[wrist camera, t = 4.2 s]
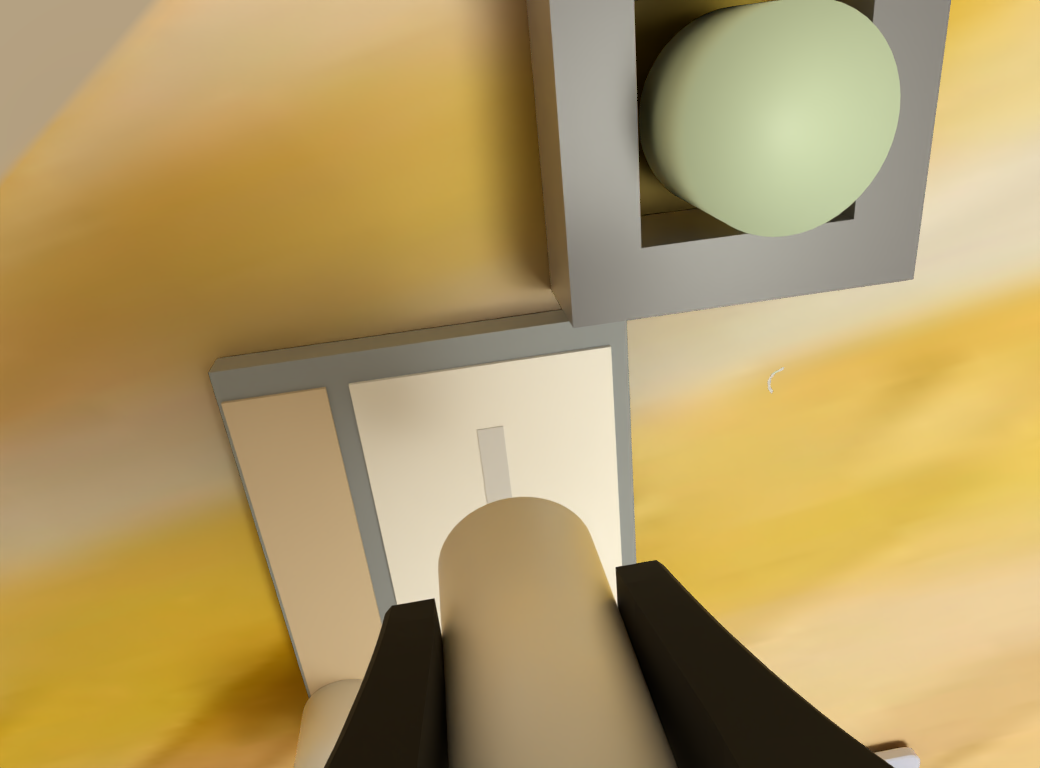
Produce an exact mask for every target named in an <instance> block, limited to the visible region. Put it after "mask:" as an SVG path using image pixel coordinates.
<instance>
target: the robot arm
mask: <svg viewBox="0 0 1040 768" xmlns="http://www.w3.org/2000/svg"><path fill="white" fill-rule="evenodd" d="M615 568H616V587H617V605H618V609H619V612H620V614H621V617H622V620H623V622H624V625H625V628H626V630H627V633H628V636H629V638H630V641H631V644H632V647H633V649H634V652H635V655H636V657H637V660H638V663H639V665H640V668H641V671H642V673H643V676H644V679H645V681H646V684H647V687H648V690H649V692H650V695H651V698H652V700H653V703H654V706H655V708H656V711H657V714H658V716H659V719H660V722H661V724H662V727H663V730H664V732H665V735H666V738H667V741H668V743H669V746H670V749H671V751H672V754H673V757H674V759H675V762H676V765H677V767H678V768H919V766H920V759H919V757H918V756H917V754H916V753H915V752H914V750H913V749H912V748H908V747H901V748H895V749H890V750H885V751H880V752H875V753H874V752H872V751H871V750H869V749H868V748H867V747H865V746H864V745H863V744H861V743H860V742H858V741H857V740H856V739H854V738H853V737H852V736H850V735H849V734H848V733H846V732H845V731H844V730H843V729H841V728H840V727H839V726H837V725H836V724H835V723H834V722H832V721H831V720H830V719H828V718H827V717H826V716H825V715H823V714H822V713H821V712H820V711H818V710H817V709H816V708H815V707H813V706H812V705H811V704H810V703H809V702H807V701H806V700H805V699H804V698H803V697H801V696H800V695H799V694H798V693H796V692H795V691H794V690H793V689H792V688H790V687H789V686H788V685H787V684H786V683H785V682H783V681H782V680H781V679H780V678H779V677H778V676H777V675H775V674H774V673H773V672H772V671H771V670H770V669H768V668H767V667H766V666H765V665H764V664H763V663H762V662H761V661H760V660H759V659H757V658H756V657H755V656H754V655H753V654H752V653H751V652H750V651H749V650H748V649H747V648H745V647H744V646H743V645H742V644H741V643H740V642H739V641H738V640H737V639H736V638H735V637H733V636H732V635H731V634H730V633H729V632H728V631H727V630H726V629H725V628H724V627H723V626H722V625H721V624H720V623H719V622H718V621H717V620H716V619H715V618H714V617H713V616H712V615H711V614H710V613H709V612H708V611H707V610H706V609H705V608H704V607H703V606H702V605H701V604H700V603H699V602H698V601H697V600H696V599H695V598H694V597H693V596H692V595H691V594H690V593H689V592H688V591H687V590H686V589H685V588H684V587H683V586H682V585H681V583H680V582H679V581H678V580H677V579H676V578H675V577H674V576H673V575H672V574H671V573H670V572H669V571H668V570H667V568H666V567H665V566H664V565H662V564H661V563H660V562H658V561H657V560H654V561H648V562H642V563H637V564H631V565H625V566H619V567H615ZM324 768H449V759H448V741H447V723H446V703H445V679H444V661H443V643H442V634H441V629H440V624H439V619H438V613H437V608H436V603H435V598H433V599H427V600H421V601H416V602H410V603H404V604H398V605H392V606H391V607H390V608H389V609H388V611H387V612H386V613H385V616H384V620H383V623H382V627H381V630H380V633H379V637H378V640H377V643H376V646H375V649H374V652H373V654H372V657H371V660H370V663H369V665H368V668H367V671H366V673H365V676H364V678H363V681H362V684H361V686H360V689H359V691H358V693H357V696H356V698H355V700H354V703H353V705H352V707H351V710H350V712H349V714H348V717H347V719H346V721H345V724H344V726H343V728H342V731H341V733H340V735H339V737H338V740H337V742H336V744H335V746H334V748H333V750H332V752H331V754H330V756H329V758H328V760H327V762H326V764H325V766H324Z"/></svg>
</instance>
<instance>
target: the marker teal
mask: <svg viewBox="0 0 1040 768" xmlns="http://www.w3.org/2000/svg"><path fill="white" fill-rule="evenodd" d="M438 578H439V596H440V614H441V632H442V643H443V661H444V679H445V703H446V723H447V741H448V759H449V768H678V767H677V765H676V762H675V759H674V757H673V754H672V751H671V749H670V746H669V743H668V741H667V738H666V735H665V732H664V730H663V727H662V724H661V722H660V719H659V716H658V714H657V711H656V708H655V706H654V703H653V700H652V698H651V695H650V692H649V690H648V687H647V684H646V681H645V679H644V676H643V673H642V671H641V668H640V665H639V663H638V660H637V657H636V655H635V652H634V649H633V647H632V644H631V641H630V638H629V636H628V633H627V630H626V628H625V625H624V622H623V620H622V617H621V614H620V612H619V609H618V606H617V604H616V601H615V598H614V595H613V593H612V590H611V587H610V585H609V582H608V579H607V577H606V574H605V571H604V569H603V566H602V563H601V561H600V558H599V555H598V553H597V550H596V547H595V544H594V542H593V539H592V536H591V534H590V532H589V530H588V528H587V526H586V525H585V524H584V522H583V521H582V520H581V519H580V518H579V517H578V516H577V515H576V514H575V513H574V512H572V511H571V510H570V509H568V508H566V507H565V506H563V505H561V504H559V503H556V502H553V501H551V500H547V499H543V498H536V497H513V498H506V499H502V500H498V501H495V502H492V503H489V504H486V505H484V506H482V507H480V508H478V509H476V510H475V511H473V512H471V513H470V514H468V515H467V516H466V517H465V518H463V519H462V520H461V521H460V522H459V523H458V524H457V525H456V526H455V527H454V528H453V529H452V531H451V532H450V533H449V535H448V536H447V538H446V540H445V542H444V544H443V546H442V549H441V551H440V556H439V560H438Z"/></svg>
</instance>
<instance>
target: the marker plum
mask: <svg viewBox="0 0 1040 768" xmlns="http://www.w3.org/2000/svg"><path fill="white" fill-rule="evenodd" d="M362 681H363V679H347V680H341V681H336V682H333V683H330V684H328V685H326V686H324V687H322V688H320V689H319V690H318V691H316V692H315V693H314V694H313V695H312V696H311V697H310V698H309V699H308V701H307V702H306V704H305V706H304V709H303V715H302V721H301V727H300V733H299V739H298V745H297V751H296V758H295V764H294V768H324V766H325V764H326V762H327V760H328V758H329V756H330V754H331V752H332V750H333V748H334V746H335V744H336V742H337V740H338V737H339V735H340V733H341V731H342V728H343V726H344V724H345V721H346V719H347V717H348V714H349V712H350V710H351V707H352V705H353V703H354V700H355V698H356V696H357V693H358V691H359V689H360V686H361V684H362Z"/></svg>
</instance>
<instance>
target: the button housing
mask: <svg viewBox="0 0 1040 768" xmlns="http://www.w3.org/2000/svg"><path fill="white" fill-rule="evenodd" d="M634 1H636V0H526V2H527V14H528V25H529V37H530V49H531V61H532V72H533V84H534V96H535V108H536V119H537V131H538V143H539V155H540V166H541V178H542V190H543V202H544V213H545V225H546V237H547V249H548V260H549V272H550V284H551V291H552V293H553V294H554V296H555V298H556V299H557V301H558V303H559V305H560V306H561V308H562V310H563V311H564V313H565V315H566V317H567V318H568V320H569V322H570V323H571V325H572V327H573V328H578V327H585V326H592V325H599V324H606V323H613V322H620V321H627V320H634V319H641V318H648V317H655V316H662V315H669V314H676V313H683V312H690V311H697V310H704V309H711V308H718V307H724V306H731V305H738V304H745V303H752V302H759V301H766V300H773V299H780V298H787V297H794V296H801V295H808V294H815V293H822V292H829V291H836V290H843V289H850V288H857V287H864V286H871V285H878V284H885V283H892V282H899V281H906V280H913V278H914V271H915V263H916V256H917V249H918V241H919V234H920V226H921V219H922V212H923V204H924V197H925V189H926V182H927V175H928V167H929V160H930V152H931V145H932V137H933V130H934V123H935V115H936V108H937V100H938V93H939V86H940V78H941V71H942V63H943V56H944V49H945V41H946V34H947V26H948V19H949V12H950V4H951V0H835V1H839V2H842V3H845V4H847V5H849V6H851V7H853V8H855V9H856V10H858V11H859V12H861V13H862V14H863V15H865V16H866V17H867V18H868V19H869V20H870V21H871V22H872V23H873V24H874V25H875V26H876V27H877V28H878V29H879V31H880V32H881V33H882V35H883V36H884V38H885V39H886V41H887V43H888V45H889V47H890V49H891V51H892V53H893V56H894V59H895V62H896V65H897V70H898V75H899V80H900V95H901V96H900V112H899V118H898V124H897V129H896V132H895V135H894V139H893V142H892V145H891V147H890V150H889V152H888V155H887V157H886V159H885V161H884V163H883V164H882V166H881V168H880V170H879V172H878V173H877V175H876V176H875V178H874V179H873V181H872V182H871V184H870V185H869V186H868V187H867V188H866V190H865V191H864V192H863V193H862V194H861V196H860V197H858V198H857V199H856V200H855V201H854V202H853V203H852V204H851V205H850V206H849V207H848V208H847V209H845V210H844V211H843V212H842V213H840V214H839V215H838V216H836V217H834V218H833V219H831V220H830V221H828V222H826V223H824V224H822V225H820V226H818V227H816V228H814V229H811V230H808V231H805V232H802V233H799V234H794V235H789V236H781V237H766V236H757V235H753V234H748V233H745V232H743V231H740V230H737V229H735V228H733V227H731V226H730V225H728V224H726V223H724V222H722V221H721V220H719V219H717V218H715V217H713V216H711V215H710V214H708V213H706V212H704V211H702V210H701V209H699V208H697V209H689V210H681V211H674V212H666V213H659V214H651V215H644V216H640V184H639V149H638V115H637V81H636V47H635V13H634Z"/></svg>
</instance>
